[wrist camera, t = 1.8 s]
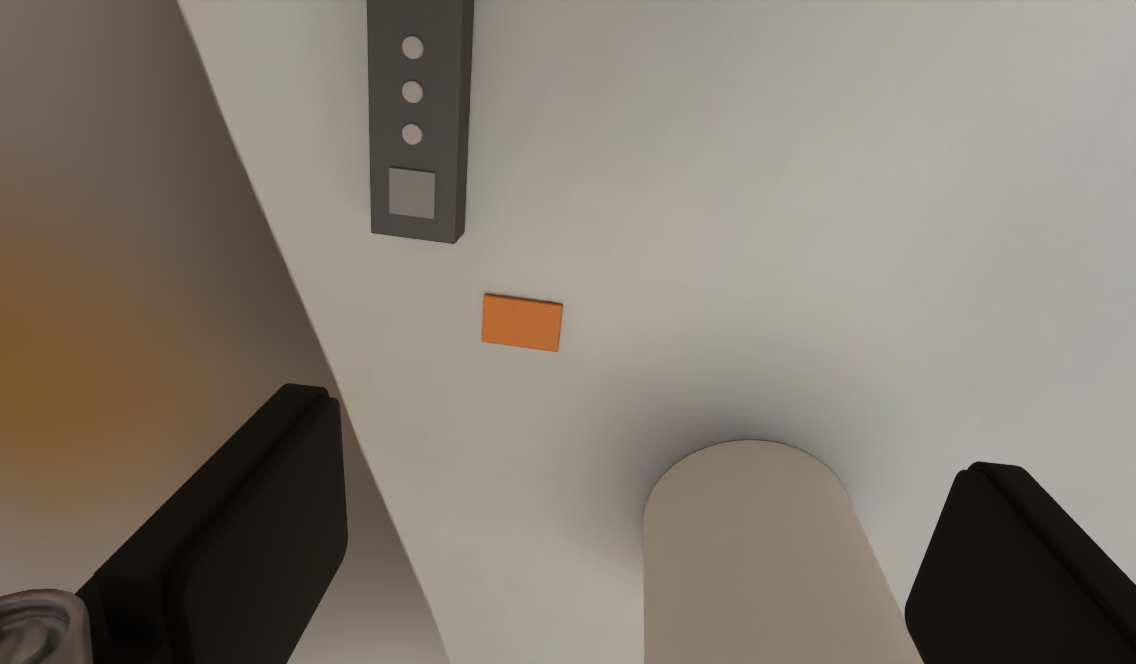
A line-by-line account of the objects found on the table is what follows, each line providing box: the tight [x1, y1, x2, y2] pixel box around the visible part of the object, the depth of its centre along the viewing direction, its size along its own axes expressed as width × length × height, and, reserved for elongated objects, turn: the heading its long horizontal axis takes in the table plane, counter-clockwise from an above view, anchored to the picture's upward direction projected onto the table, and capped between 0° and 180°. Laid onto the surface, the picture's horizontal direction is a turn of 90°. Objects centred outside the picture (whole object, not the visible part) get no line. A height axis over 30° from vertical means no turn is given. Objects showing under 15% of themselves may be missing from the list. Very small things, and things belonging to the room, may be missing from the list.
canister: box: [643, 440, 924, 664], centre depth 35 cm, size 14×14×20 cm
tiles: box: [482, 294, 563, 352], centre depth 34 cm, size 26×5×1 cm, turn 174°
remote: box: [367, 0, 474, 244], centre depth 34 cm, size 13×5×2 cm, turn 174°
